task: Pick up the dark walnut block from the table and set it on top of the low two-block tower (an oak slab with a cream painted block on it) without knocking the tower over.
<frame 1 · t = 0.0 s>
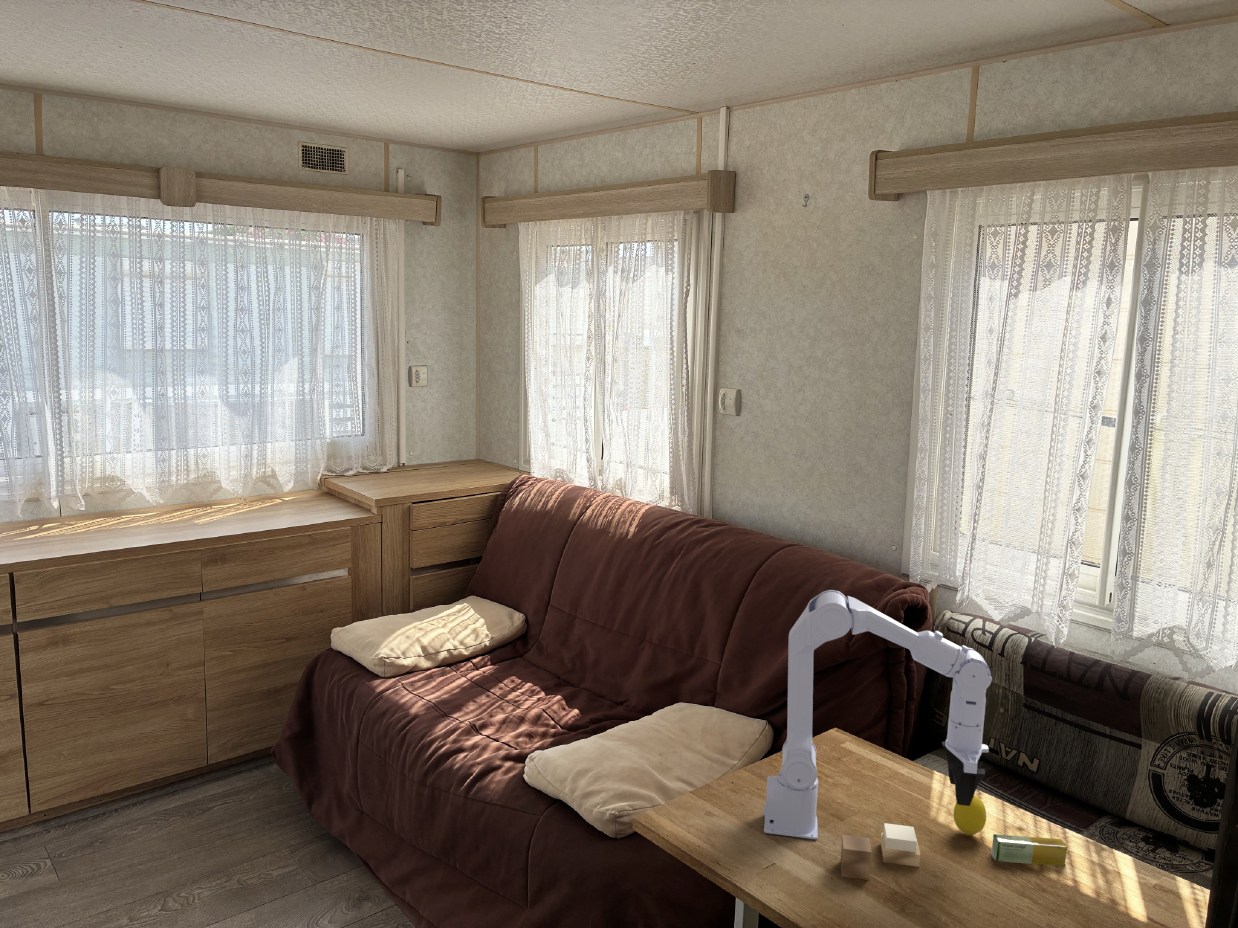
hand: (959, 793, 163), 10 cm above the table, tool pointing down, fingers open, 7 cm apart
oak base block: (899, 856, 162), on the table, touching cream block
lemon: (967, 836, 169), on the table
medication box: (1027, 861, 161), on the table
cream block: (899, 842, 161), point 2 cm above the table, touching oak base block
walnut block: (854, 870, 156), on the table
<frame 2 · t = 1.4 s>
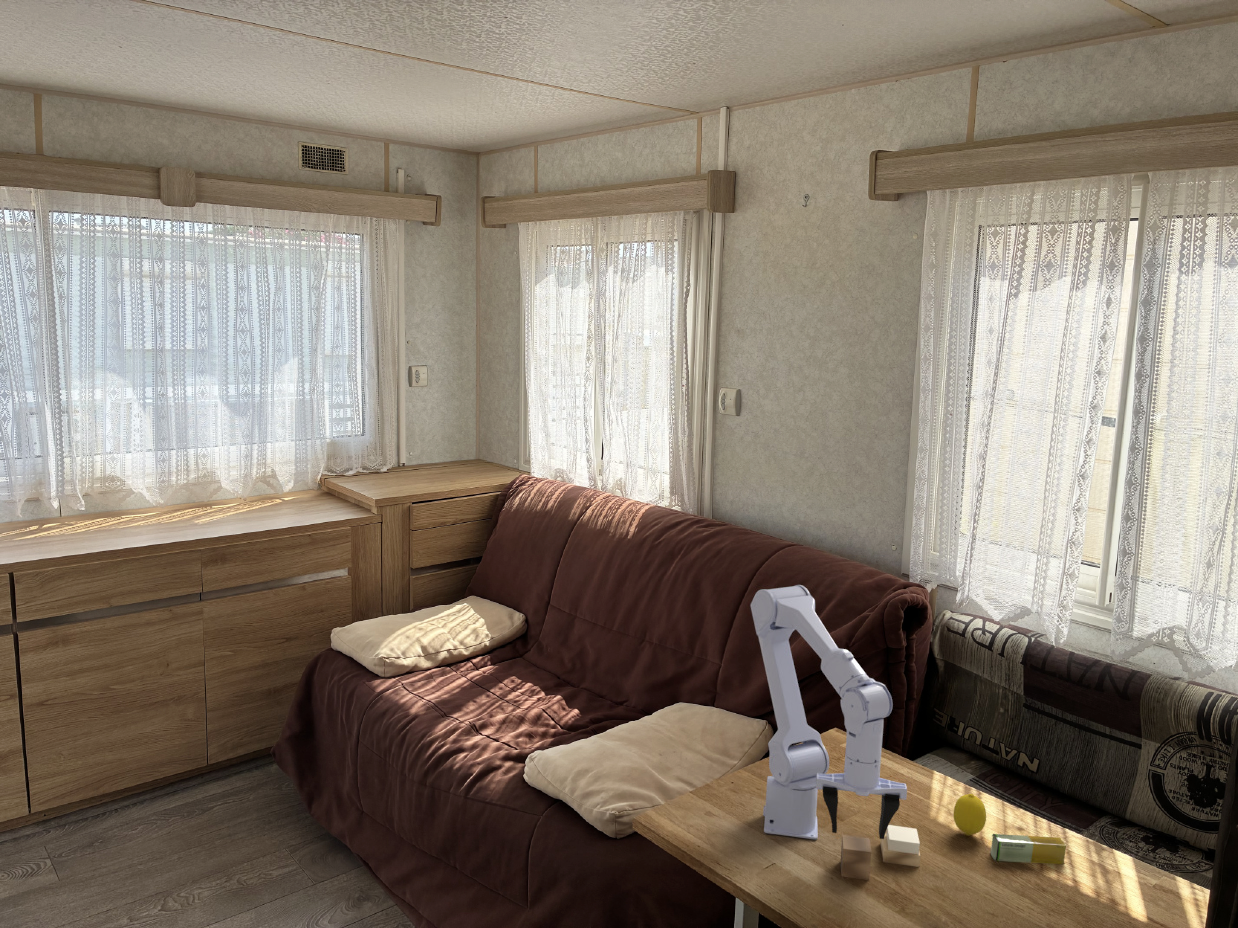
hand: (857, 832, 155), 7 cm above the table, tool pointing down, fingers open, 7 cm apart
nothing on the table moved.
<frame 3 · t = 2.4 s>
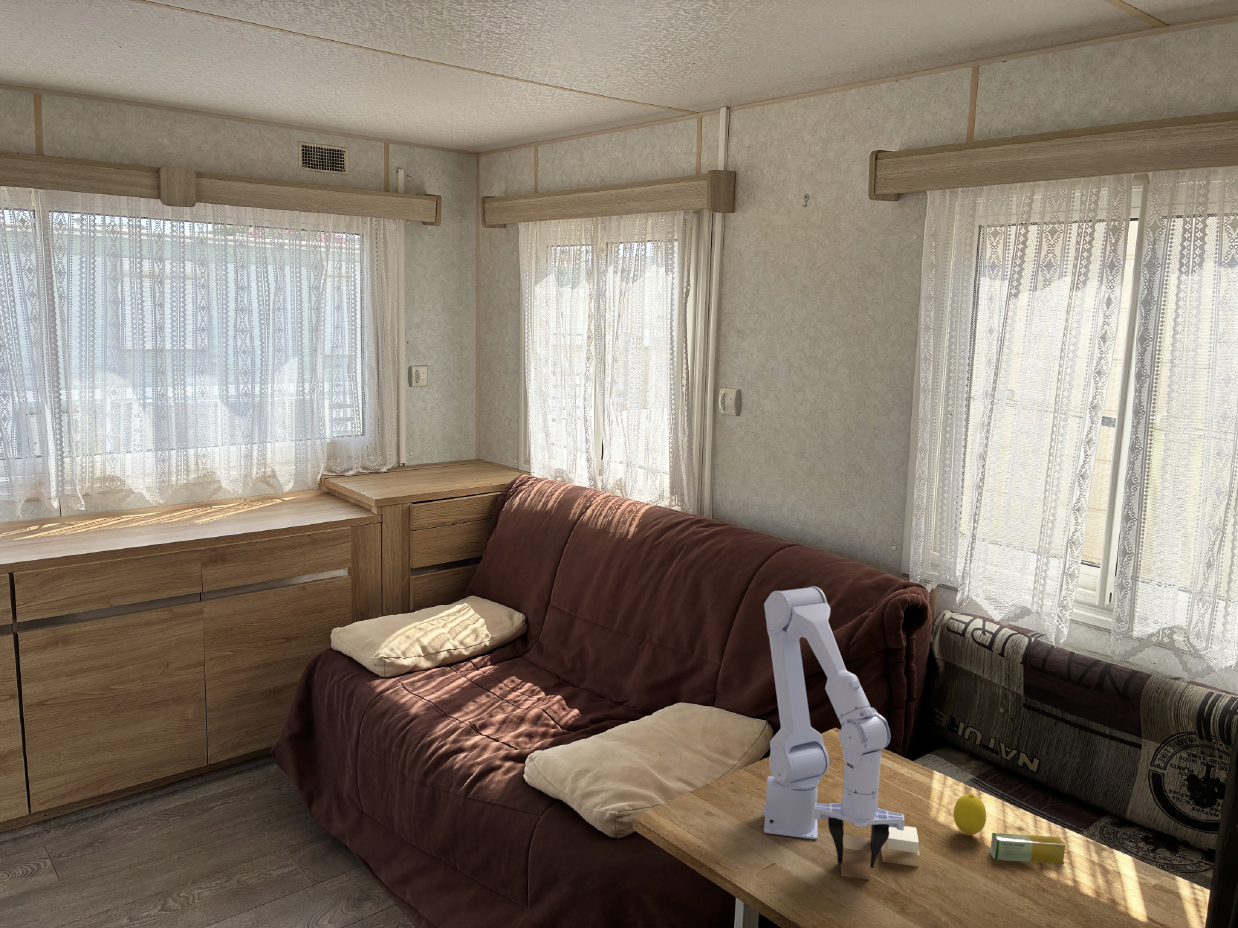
hand: (855, 862, 156), 1 cm above the table, tool pointing down, fingers closed on walnut block, 4 cm apart
walnut block: (854, 870, 156), on the table, touching gripper
everything else where it was.
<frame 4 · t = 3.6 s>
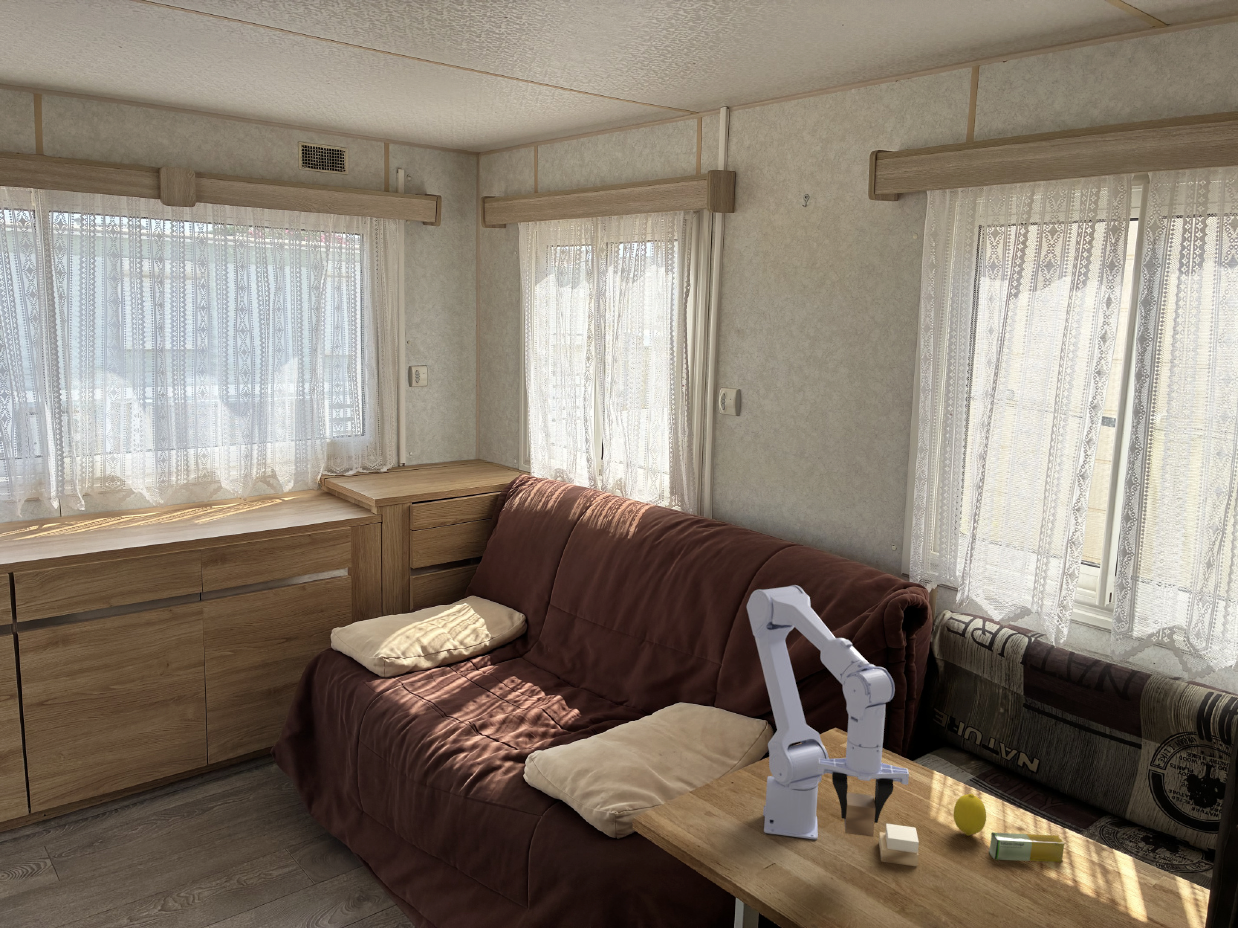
hand: (859, 817, 155), 9 cm above the table, tool pointing down, fingers closed on walnut block, 4 cm apart
walnut block: (858, 827, 155), point 8 cm above the table, touching gripper
everything else where it was.
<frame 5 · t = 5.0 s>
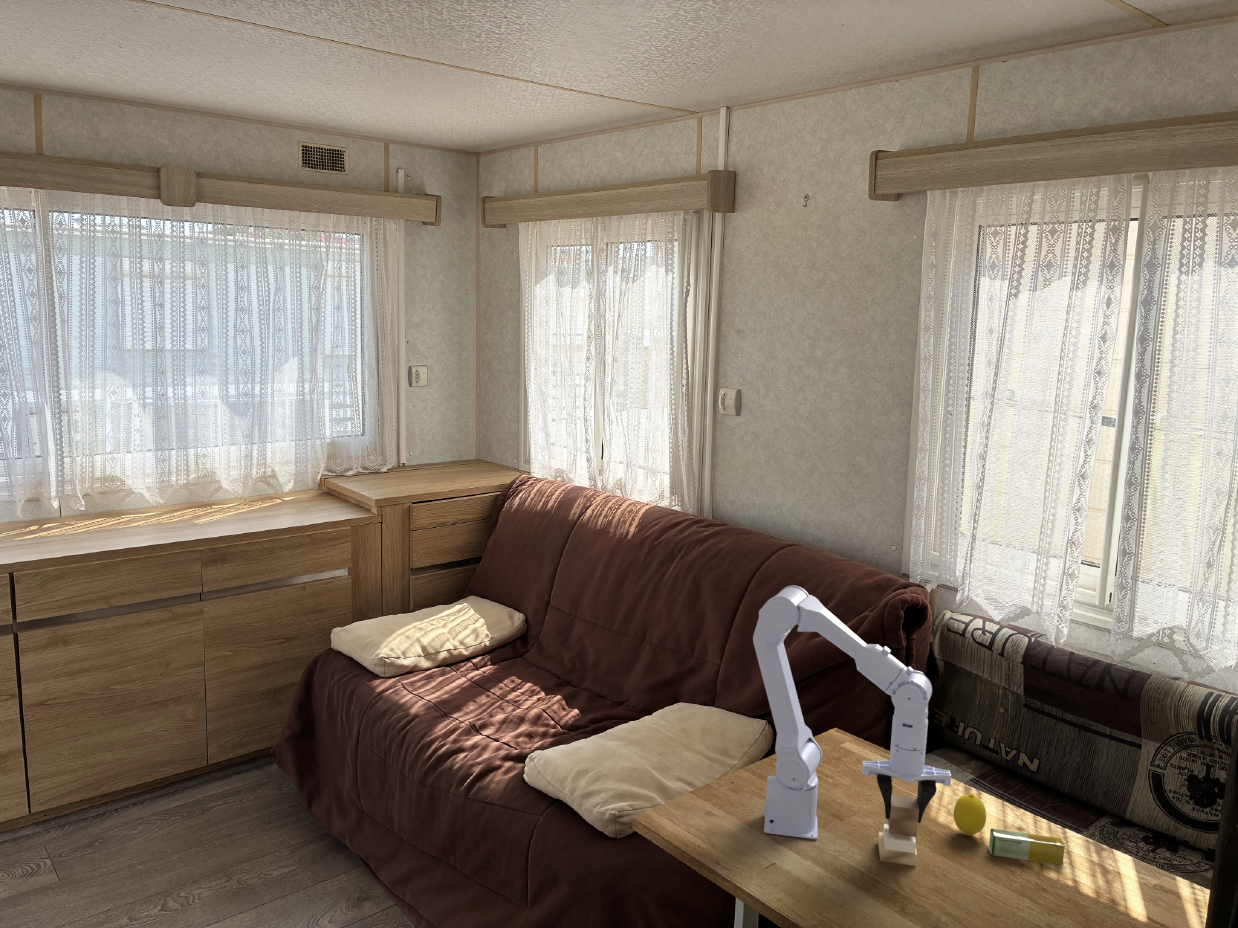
hand: (902, 817, 161), 7 cm above the table, tool pointing down, fingers closed on walnut block, 4 cm apart
walnut block: (901, 828, 161), point 5 cm above the table, touching gripper
when the fingers open (7 cm above the table, at t = 5.3 s): walnut block drops 1 cm, resting on cream block.
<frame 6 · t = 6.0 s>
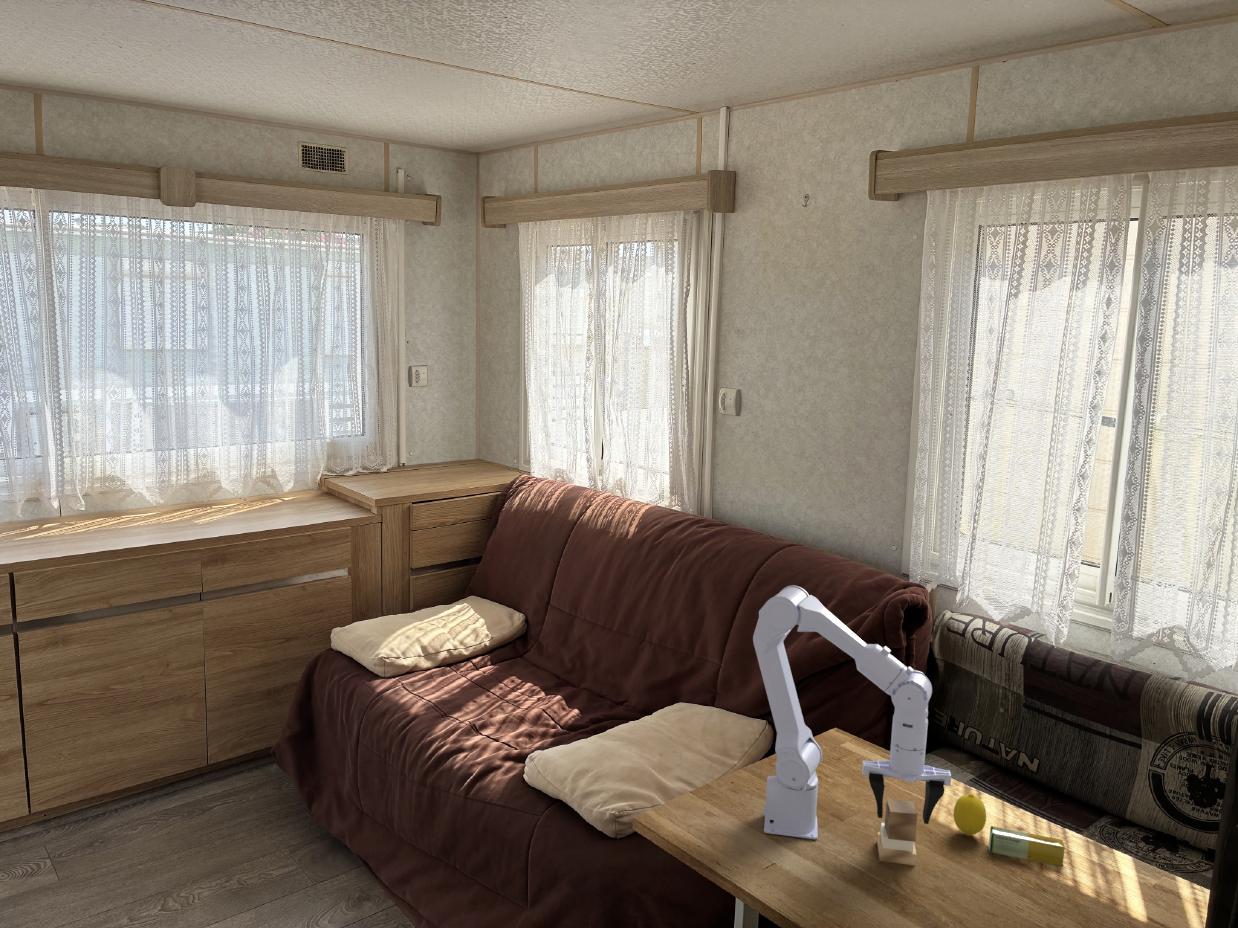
hand: (902, 817, 161), 7 cm above the table, tool pointing down, fingers open, 7 cm apart
cream block: (896, 842, 162), point 2 cm above the table, touching oak base block, walnut block
walnut block: (899, 833, 161), point 4 cm above the table, touching cream block
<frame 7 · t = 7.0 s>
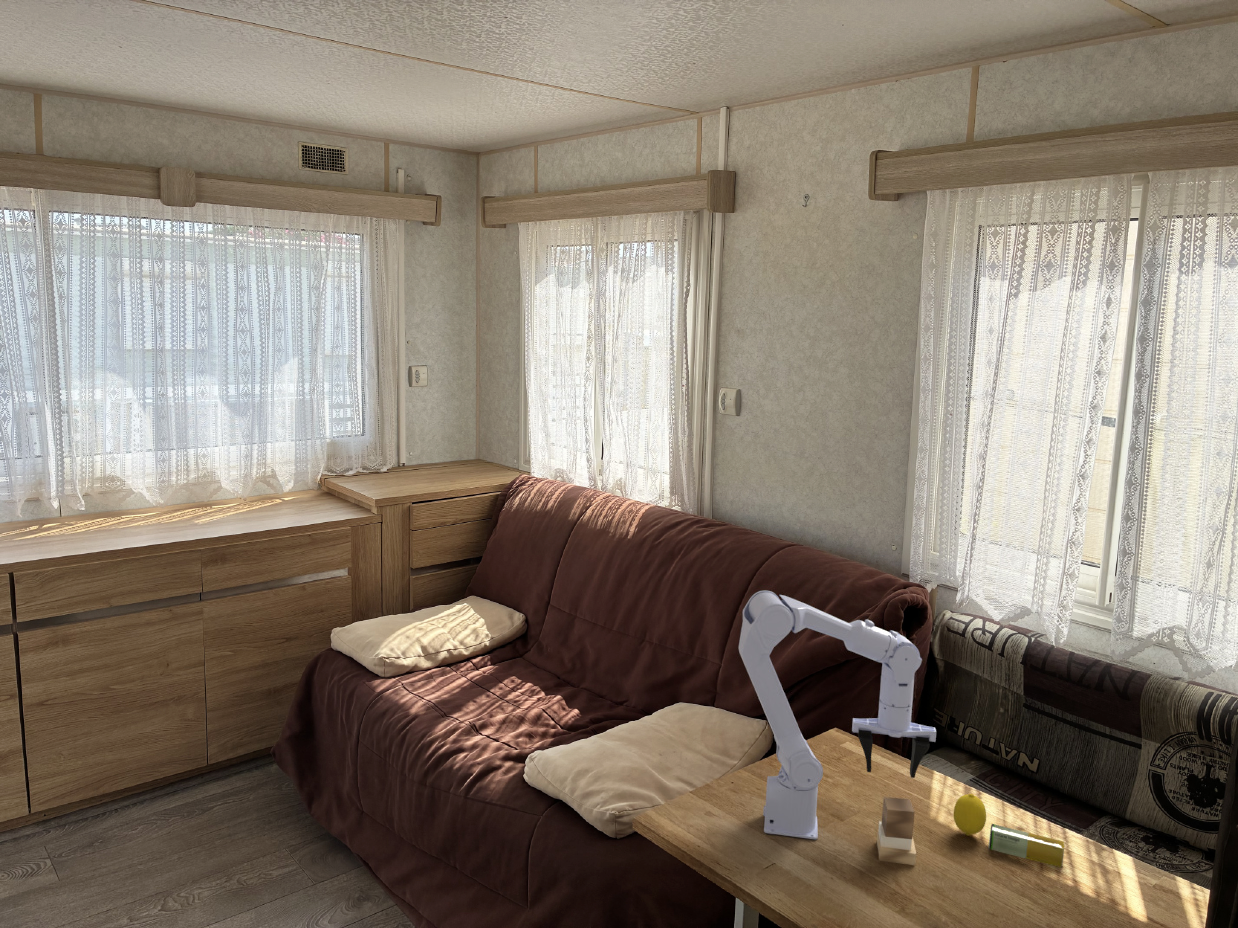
hand: (890, 772, 170), 10 cm above the table, tool pointing down, fingers open, 7 cm apart
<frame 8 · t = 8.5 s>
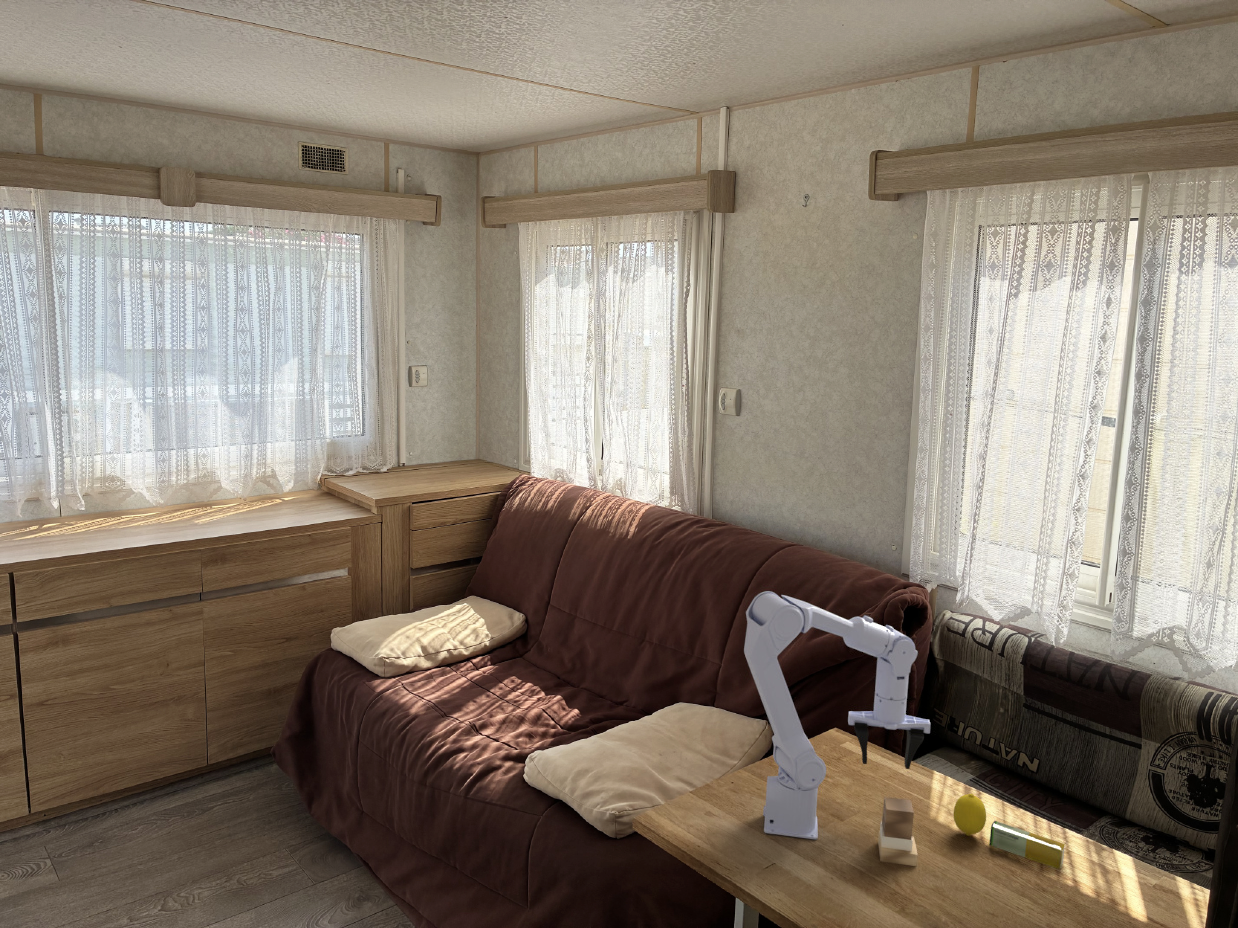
hand: (885, 764, 173), 10 cm above the table, tool pointing down, fingers open, 7 cm apart
oak base block: (896, 856, 162), on the table
cream block: (895, 841, 162), point 2 cm above the table
walnut block: (896, 831, 161), point 4 cm above the table
at the end: walnut block 0.4 cm off-centre on the oak base block, point 4.6 cm above the oak base block's base; walnut block touching cream block; walnut block tilted 1° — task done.
